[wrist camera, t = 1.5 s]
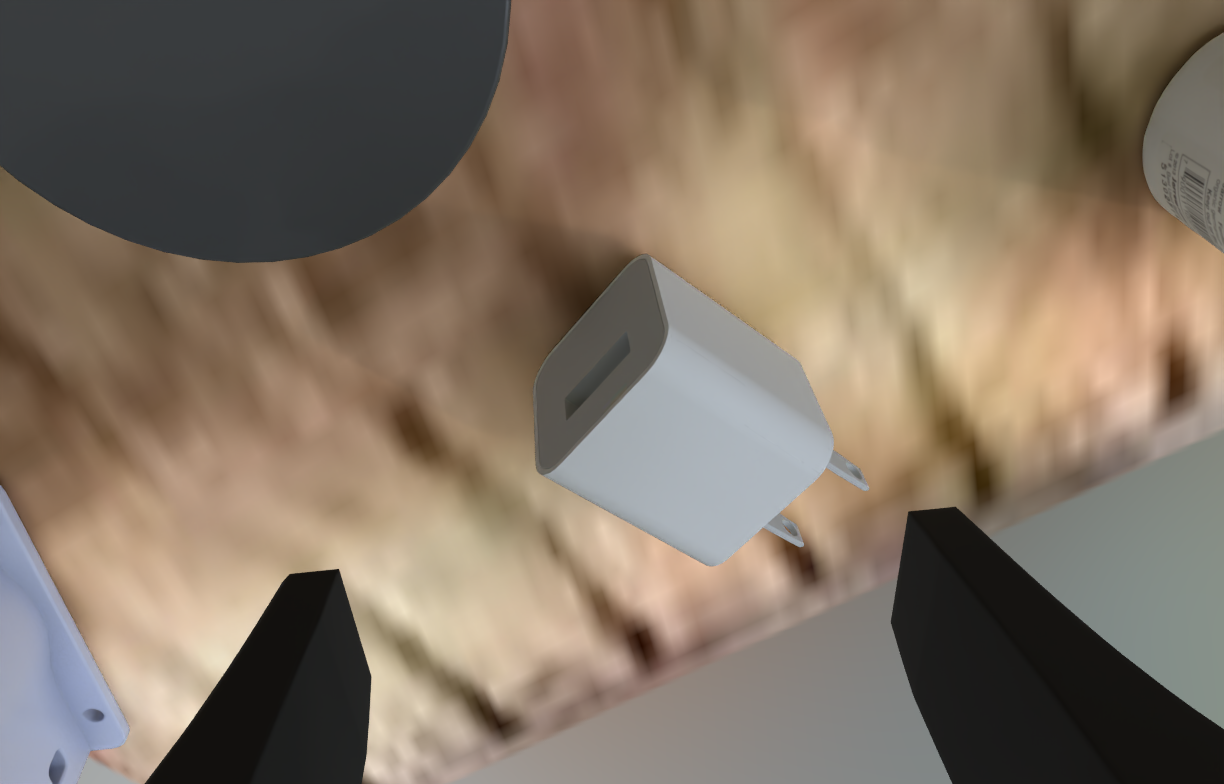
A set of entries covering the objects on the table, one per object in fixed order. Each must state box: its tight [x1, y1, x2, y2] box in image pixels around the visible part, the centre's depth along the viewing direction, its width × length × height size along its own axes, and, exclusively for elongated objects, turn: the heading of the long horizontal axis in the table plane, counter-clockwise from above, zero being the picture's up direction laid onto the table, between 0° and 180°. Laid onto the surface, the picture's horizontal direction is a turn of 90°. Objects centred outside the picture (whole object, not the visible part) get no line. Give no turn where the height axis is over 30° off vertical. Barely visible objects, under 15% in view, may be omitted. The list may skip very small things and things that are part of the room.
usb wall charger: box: [533, 254, 869, 566], centre depth 21 cm, size 4×7×4 cm, turn 51°
